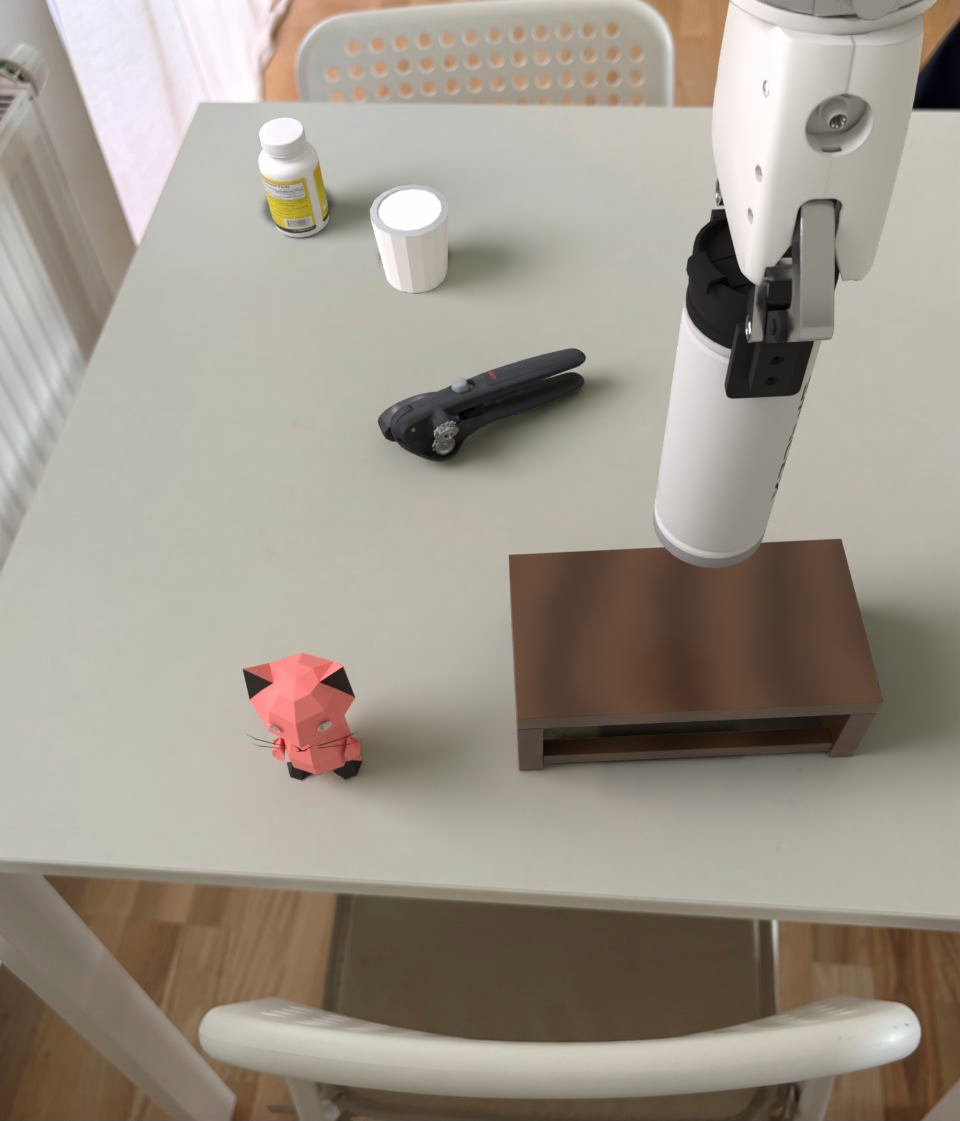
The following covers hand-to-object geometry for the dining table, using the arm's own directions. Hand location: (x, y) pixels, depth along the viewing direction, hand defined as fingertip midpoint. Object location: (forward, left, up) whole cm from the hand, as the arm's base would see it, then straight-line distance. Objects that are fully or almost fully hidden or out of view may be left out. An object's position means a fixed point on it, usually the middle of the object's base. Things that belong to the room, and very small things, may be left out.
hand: (748, 331), depth 50 cm
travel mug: (0, 0, -15) cm, 15 cm away
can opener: (+12, -24, -33) cm, 42 cm away
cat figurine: (+24, +5, -33) cm, 41 cm away
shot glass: (+18, -42, -33) cm, 56 cm away
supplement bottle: (+29, -50, -33) cm, 66 cm away
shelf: (0, +1, -32) cm, 32 cm away
